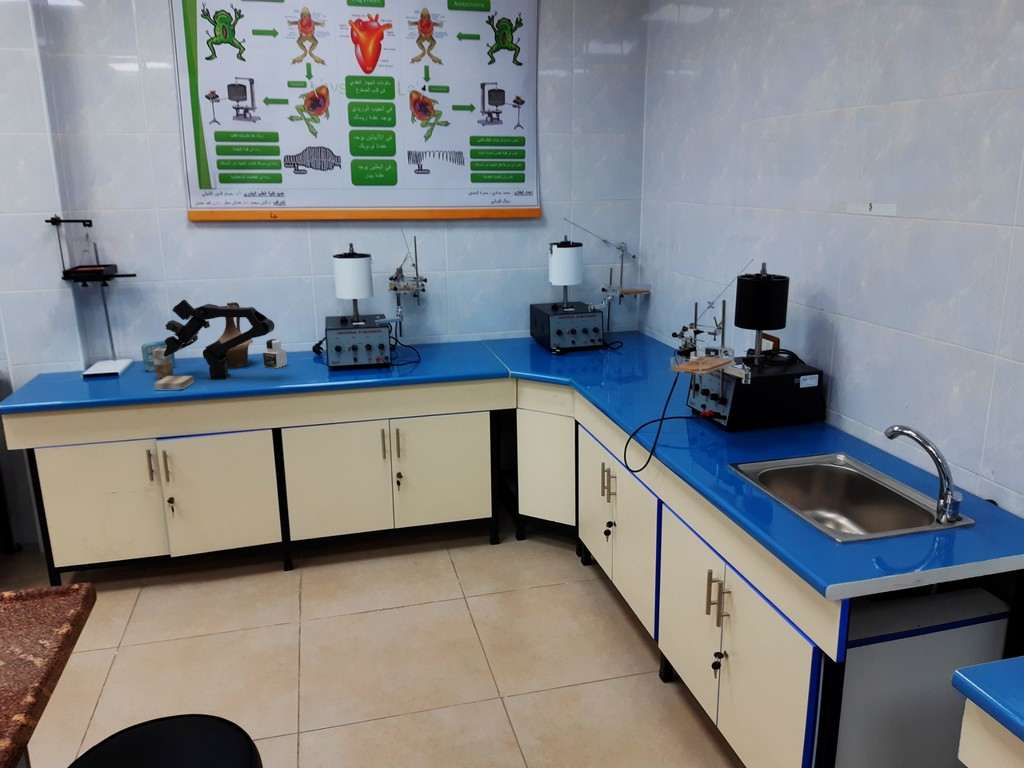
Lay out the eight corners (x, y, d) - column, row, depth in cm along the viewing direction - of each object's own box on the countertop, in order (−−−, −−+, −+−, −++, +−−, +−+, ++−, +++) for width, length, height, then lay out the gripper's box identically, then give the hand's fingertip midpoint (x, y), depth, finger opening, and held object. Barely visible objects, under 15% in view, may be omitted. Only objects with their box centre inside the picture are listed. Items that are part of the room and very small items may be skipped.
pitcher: (228, 359, 354) (221, 299, 346) (262, 360, 351) (256, 300, 343) (207, 369, 337) (200, 306, 329) (244, 370, 334) (237, 307, 327)
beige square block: (194, 382, 316) (193, 375, 315) (182, 390, 305) (181, 383, 304) (167, 383, 316) (166, 375, 315) (155, 390, 305) (154, 383, 305)
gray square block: (173, 375, 328) (169, 348, 324) (167, 378, 323) (164, 350, 319) (162, 375, 328) (158, 348, 324) (156, 378, 323) (152, 350, 320)
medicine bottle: (263, 367, 339) (261, 341, 335) (274, 363, 345) (271, 337, 342) (277, 369, 336) (274, 342, 333) (287, 365, 343) (285, 338, 339)
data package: (148, 372, 332) (144, 345, 329) (144, 370, 335) (140, 344, 332) (176, 367, 340) (172, 341, 337) (172, 365, 344) (168, 339, 340)
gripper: (187, 310, 326) (165, 335, 330) (166, 318, 308) (143, 345, 312) (207, 328, 328) (185, 353, 332) (187, 337, 310) (164, 364, 314)
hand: (169, 353), depth 322 cm, fingers open, 9 cm apart
